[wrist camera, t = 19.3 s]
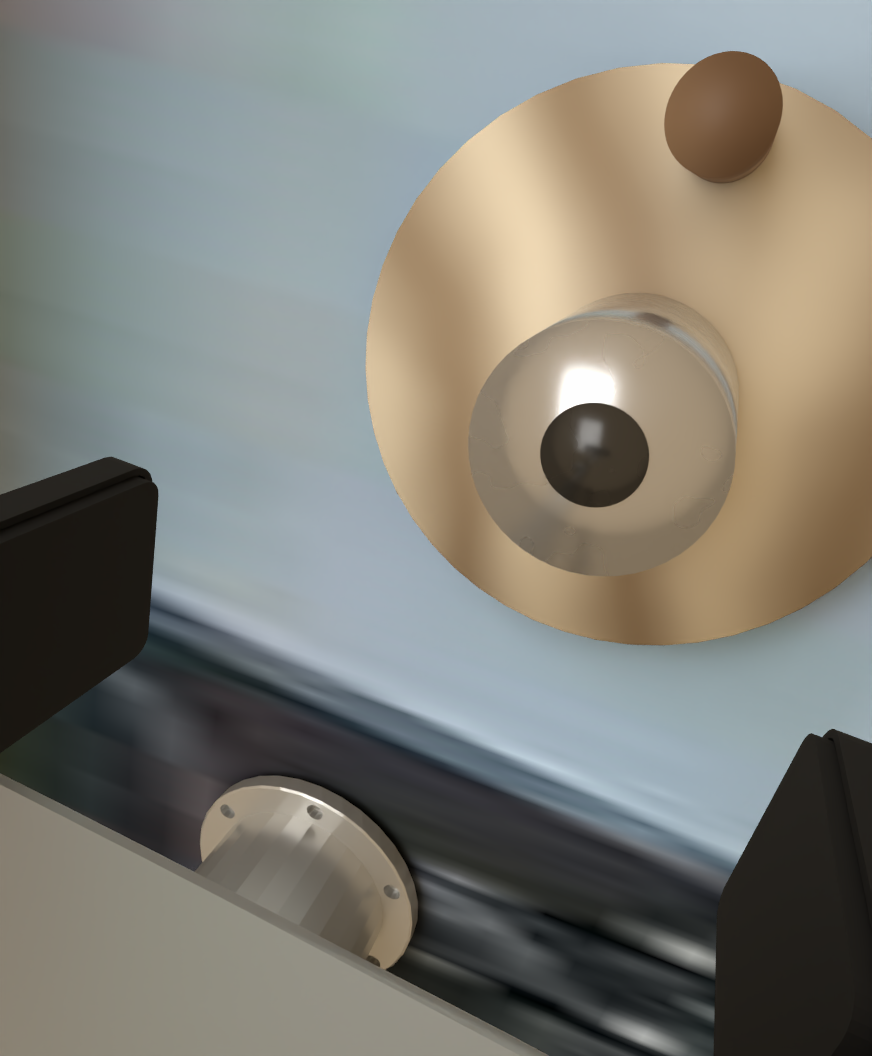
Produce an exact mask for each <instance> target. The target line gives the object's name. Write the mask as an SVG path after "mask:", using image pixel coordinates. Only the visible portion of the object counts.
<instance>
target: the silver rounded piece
mask: <svg viewBox="0 0 872 1056" xmlns="http://www.w3.org/2000/svg"><path fill="white" fill-rule="evenodd" d="M738 406H739V381H738V375H737V370H736V366H735V363H734V360H733V357H732V354H731V352H730V350H729V348H728V346H727V344H726V343H725V341H724V339H723V338H722V336H721V335H720V334H719V332H718V331H717V330H716V328H715V327H714V326H713V325H712V324H711V323H710V322H709V321H708V320H707V319H706V318H705V317H703V316H702V315H701V314H699V313H698V312H697V311H695V310H694V309H692V308H690V307H689V306H687V305H685V304H683V303H681V302H679V301H676V300H674V299H671V298H669V297H665V296H660V295H656V294H649V293H623V294H617V295H611V296H608V297H605V298H602V299H598V300H596V301H594V302H592V303H589V304H587V305H585V306H583V307H582V308H580V309H578V310H577V311H575V312H573V313H571V314H570V315H568V316H566V317H565V318H563V319H561V320H560V321H558V322H556V323H554V324H553V325H551V326H549V327H548V328H546V329H544V330H542V331H541V332H539V333H537V334H536V335H534V336H532V337H531V338H529V339H528V340H526V341H524V342H523V343H521V344H520V345H518V346H517V347H516V348H515V349H514V350H512V351H511V352H510V353H509V354H508V355H506V356H505V358H504V359H503V360H502V361H501V362H500V363H499V364H498V365H497V366H496V367H495V369H494V370H493V371H492V373H491V374H490V376H489V377H488V379H487V380H486V382H485V383H484V385H483V387H482V389H481V391H480V393H479V395H478V398H477V400H476V403H475V406H474V409H473V412H472V417H471V421H470V426H469V437H468V452H469V462H470V468H471V473H472V477H473V480H474V483H475V487H476V490H477V492H478V494H479V496H480V499H481V501H482V503H483V505H484V506H485V508H486V510H487V511H488V513H489V515H490V516H491V518H492V519H493V520H494V522H495V523H496V524H497V525H498V527H499V528H500V529H501V530H502V531H503V532H504V533H505V534H506V535H507V536H508V537H509V538H510V539H511V540H512V541H513V542H514V543H515V544H516V545H518V546H519V547H520V548H522V549H523V550H524V551H525V552H527V553H529V554H530V555H532V556H534V557H535V558H537V559H538V560H541V561H543V562H545V563H547V564H549V565H551V566H553V567H556V568H559V569H562V570H565V571H568V572H573V573H578V574H582V575H590V576H621V575H628V574H634V573H638V572H641V571H645V570H649V569H652V568H654V567H656V566H659V565H661V564H663V563H666V562H668V561H669V560H671V559H673V558H674V557H676V556H678V555H680V554H681V553H682V552H684V551H685V550H686V549H688V548H689V547H690V546H692V545H693V544H694V543H695V542H696V541H697V540H698V539H699V538H700V537H701V536H702V535H703V534H704V533H705V532H706V531H707V529H708V528H709V527H710V525H711V524H712V523H713V521H714V520H715V519H716V517H717V515H718V514H719V512H720V510H721V508H722V506H723V505H724V503H725V500H726V497H727V495H728V492H729V490H730V487H731V483H732V478H733V474H734V469H735V456H736V440H737V423H738Z"/></svg>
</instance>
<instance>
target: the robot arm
mask: <svg viewBox="0 0 872 1056" xmlns="http://www.w3.org/2000/svg"><path fill="white" fill-rule="evenodd" d="M157 507H158V489H157V486H156V485H155V484H154V483H153V482H152V478H151V475H150V473H149V472H148V471H147V470H146V469H143V468H141V467H138V466H135V465H133V464H130V463H127V462H125V461H122V460H119V459H117V458H114V457H107V458H103V459H100V460H97V461H94V462H92V463H89V464H86V465H83V466H80V467H77V468H75V469H72V470H69V471H66V472H63V473H61V474H58V475H55V476H52V477H49V478H46V479H44V480H41V481H38V482H35V483H32V484H30V485H27V486H24V487H21V488H18V489H15V490H13V491H10V492H7V493H4V494H1V495H0V753H1V752H2V751H4V750H5V749H6V748H8V747H9V746H11V745H12V744H13V743H15V742H16V741H18V740H19V739H21V738H22V737H23V736H25V735H26V734H28V733H29V732H30V731H32V730H33V729H35V728H36V727H38V726H39V725H40V724H42V723H43V722H45V721H46V720H47V719H49V718H50V717H52V716H53V715H54V714H56V713H57V712H59V711H60V710H62V709H63V708H64V707H66V706H67V705H69V704H70V703H71V702H73V701H74V700H76V699H77V698H79V697H80V696H81V695H83V694H84V693H86V692H87V691H88V690H90V689H91V688H93V687H94V686H96V685H97V684H98V683H100V682H101V681H103V680H104V679H105V678H107V677H108V676H110V675H111V674H113V673H114V672H115V671H117V670H118V669H120V668H121V667H122V666H124V665H125V664H127V663H128V662H130V661H131V660H132V659H134V658H135V657H136V656H137V655H138V654H139V653H140V652H141V650H142V649H143V647H144V645H145V643H146V640H147V637H148V628H149V615H150V601H151V588H152V574H153V561H154V548H155V534H156V521H157ZM200 848H201V856H202V864H201V865H200V866H199V867H198V868H197V870H196V871H195V872H193V871H191V870H189V869H187V868H185V867H183V866H182V865H180V864H178V863H176V862H174V861H172V860H170V859H168V858H166V857H164V856H162V855H160V854H158V853H156V852H154V851H152V850H150V849H148V848H146V847H144V846H142V845H140V844H138V843H136V842H134V841H132V840H130V839H129V838H127V837H125V836H123V835H121V834H119V833H117V832H115V831H113V830H111V829H109V828H107V827H105V826H103V825H101V824H99V823H97V822H95V821H93V820H91V819H89V818H87V817H85V816H83V815H81V814H79V813H77V812H75V811H73V810H72V809H70V808H68V807H66V806H64V805H62V804H60V803H58V802H56V801H54V800H52V799H50V798H48V797H46V796H44V795H42V794H40V793H38V792H36V791H34V790H32V789H30V788H28V787H26V786H24V785H22V784H20V783H18V782H16V781H14V780H12V779H10V778H8V777H6V776H4V775H2V774H0V1056H549V1055H547V1054H545V1053H543V1052H541V1051H539V1050H537V1049H536V1048H534V1047H532V1046H530V1045H528V1044H526V1043H524V1042H523V1041H521V1040H519V1039H517V1038H515V1037H513V1036H511V1035H509V1034H507V1033H506V1032H504V1031H502V1030H500V1029H498V1028H496V1027H494V1026H492V1025H490V1024H488V1023H486V1022H484V1021H482V1020H480V1019H478V1018H477V1017H475V1016H473V1015H471V1014H469V1013H467V1012H465V1011H463V1010H461V1009H459V1008H457V1007H455V1006H453V1005H451V1004H449V1003H448V1002H446V1001H444V1000H442V999H440V998H438V997H436V996H434V995H432V994H430V993H428V992H426V991H424V990H422V989H420V988H419V987H417V986H415V985H413V984H411V983H409V982H407V981H405V980H403V979H401V978H399V977H397V976H395V975H393V974H392V973H390V972H388V971H386V969H388V968H389V967H391V966H393V965H394V964H395V963H396V962H397V961H398V960H399V958H400V957H401V956H402V955H403V954H404V952H405V950H406V948H407V946H408V944H409V942H410V940H411V938H412V936H413V933H414V930H415V927H416V923H417V920H418V900H417V895H416V890H415V885H414V882H413V880H412V877H411V875H410V872H409V870H408V867H407V865H406V863H405V862H404V860H403V858H402V857H401V855H400V854H399V852H398V850H397V849H396V847H395V845H394V844H393V843H392V842H391V841H390V839H389V838H388V837H387V836H386V835H385V833H384V832H383V831H382V830H381V829H380V827H379V826H378V825H377V824H375V823H374V822H373V821H372V820H371V819H370V818H369V817H368V816H367V815H366V814H364V813H363V812H362V811H361V810H360V809H358V808H357V807H355V806H354V805H352V804H351V803H350V802H348V801H347V800H345V799H344V798H342V797H341V796H339V795H337V794H335V793H333V792H331V791H329V790H327V789H325V788H323V787H321V786H318V785H315V784H312V783H309V782H306V781H303V780H301V779H296V778H290V777H284V776H258V777H253V778H249V779H245V780H242V781H240V782H239V783H237V784H235V785H233V786H231V787H229V788H228V789H227V790H226V791H225V792H224V793H223V794H222V795H221V796H220V797H219V798H218V799H217V800H216V802H215V803H214V804H213V805H212V807H211V808H210V809H209V811H208V812H207V813H206V816H205V819H204V821H203V824H202V827H201V836H200ZM714 1056H872V743H869V742H867V741H864V740H861V739H859V738H856V737H853V736H851V735H848V734H845V733H843V732H840V731H837V730H835V729H831V730H829V731H828V732H827V733H826V734H825V735H824V736H823V738H822V737H820V736H817V735H814V734H812V733H811V734H809V735H808V736H807V737H806V738H805V739H804V741H803V742H802V744H801V746H800V748H799V750H798V751H797V753H796V755H795V757H794V759H793V761H792V763H791V764H790V766H789V768H788V770H787V772H786V774H785V776H784V777H783V779H782V781H781V783H780V785H779V787H778V789H777V790H776V792H775V794H774V796H773V798H772V800H771V802H770V803H769V805H768V807H767V809H766V811H765V813H764V815H763V816H762V818H761V820H760V822H759V824H758V826H757V828H756V829H755V831H754V833H753V835H752V837H751V839H750V841H749V842H748V844H747V846H746V848H745V850H744V852H743V854H742V856H741V857H740V859H739V861H738V863H737V865H736V867H735V869H734V870H733V872H732V874H731V876H730V878H729V880H728V882H727V883H726V885H725V888H724V890H723V892H722V895H721V898H720V902H719V907H718V912H717V938H716V979H715V1021H714Z"/></svg>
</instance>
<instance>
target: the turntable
mask: <svg viewBox="0 0 872 1056" xmlns="http://www.w3.org/2000/svg"><path fill="white" fill-rule="evenodd" d="M623 293H649V294H656V295H660V296H665V297H669V298H671V299H674V300H676V301H679V302H681V303H683V304H685V305H687V306H689V307H690V308H692V309H694V310H695V311H697V312H698V313H699V314H701V315H702V316H703V317H705V318H706V319H707V320H708V321H709V322H710V323H711V324H712V325H713V326H714V327H715V328H716V330H717V331H718V332H719V334H720V335H721V336H722V338H723V339H724V341H725V343H726V344H727V346H728V348H729V350H730V352H731V354H732V357H733V360H734V363H735V366H736V370H737V375H738V381H739V406H738V423H737V440H736V456H735V469H734V474H733V478H732V483H731V487H730V490H729V492H728V495H727V497H726V500H725V503H724V505H723V506H722V508H721V510H720V512H719V514H718V515H717V517H716V519H715V520H714V521H713V523H712V524H711V525H710V527H709V528H708V529H707V531H706V532H705V533H704V534H703V535H702V536H701V537H700V538H699V539H698V540H697V541H696V542H695V543H694V544H693V545H692V546H690V547H689V548H688V549H686V550H685V551H684V552H682V553H681V554H680V555H678V556H676V557H674V558H673V559H671V560H669V561H668V562H666V563H663V564H661V565H659V566H656V567H654V568H652V569H649V570H645V571H641V572H638V573H634V574H628V575H621V576H590V575H582V574H578V573H573V572H568V571H565V570H562V569H559V568H556V567H553V566H551V565H549V564H547V563H545V562H543V561H541V560H538V559H537V558H535V557H534V556H532V555H530V554H529V553H527V552H525V551H524V550H523V549H522V548H520V547H519V546H518V545H516V544H515V543H514V542H513V541H512V540H511V539H510V538H509V537H508V536H507V535H506V534H505V533H504V532H503V531H502V530H501V529H500V528H499V527H498V525H497V524H496V523H495V522H494V520H493V519H492V518H491V516H490V515H489V513H488V511H487V510H486V508H485V506H484V505H483V503H482V501H481V499H480V496H479V494H478V492H477V490H476V487H475V483H474V480H473V477H472V473H471V468H470V462H469V452H468V437H469V426H470V421H471V417H472V412H473V409H474V406H475V403H476V400H477V398H478V395H479V393H480V391H481V389H482V387H483V385H484V383H485V382H486V380H487V379H488V377H489V376H490V374H491V373H492V371H493V370H494V369H495V367H496V366H497V365H498V364H499V363H500V362H501V361H502V360H503V359H504V358H505V356H506V355H508V354H509V353H510V352H511V351H512V350H514V349H515V348H516V347H517V346H518V345H520V344H521V343H523V342H524V341H526V340H528V339H529V338H531V337H532V336H534V335H536V334H537V333H539V332H541V331H542V330H544V329H546V328H548V327H549V326H551V325H553V324H554V323H556V322H558V321H560V320H561V319H563V318H565V317H566V316H568V315H570V314H571V313H573V312H575V311H577V310H578V309H580V308H582V307H583V306H585V305H587V304H589V303H592V302H594V301H596V300H598V299H602V298H605V297H608V296H611V295H617V294H623ZM366 379H367V393H368V403H369V408H370V413H371V418H372V423H373V429H374V433H375V436H376V440H377V443H378V446H379V449H380V452H381V455H382V459H383V462H384V464H385V467H386V469H387V471H388V473H389V475H390V478H391V480H392V482H393V484H394V487H395V489H396V491H397V493H398V495H399V496H400V498H401V500H402V501H403V503H404V505H405V506H406V508H407V510H408V512H409V513H410V515H411V517H412V518H413V520H414V521H415V522H416V524H417V525H418V526H419V528H420V529H421V530H422V532H423V533H424V534H425V536H426V537H427V538H428V540H429V541H430V542H431V544H432V545H433V546H434V547H435V548H436V549H437V550H438V551H439V552H440V553H441V554H442V555H443V556H444V557H445V558H446V559H447V560H448V562H449V563H450V564H451V565H452V566H453V567H454V568H455V569H457V570H458V571H459V572H460V573H461V574H463V575H464V576H465V577H466V578H467V579H469V580H470V581H471V582H472V583H473V584H475V585H476V586H477V587H478V588H480V589H481V590H483V591H484V592H486V593H487V594H489V595H490V596H492V597H493V598H495V599H496V600H498V601H499V602H501V603H502V604H504V605H506V606H507V607H509V608H511V609H513V610H515V611H517V612H519V613H521V614H523V615H525V616H527V617H529V618H531V619H533V620H535V621H538V622H541V623H543V624H546V625H548V626H551V627H554V628H556V629H559V630H562V631H564V632H568V633H572V634H576V635H580V636H584V637H588V638H592V639H595V640H602V641H609V642H616V643H623V644H635V645H673V644H685V643H696V642H703V641H708V640H712V639H717V638H722V637H727V636H732V635H736V634H739V633H742V632H745V631H748V630H751V629H754V628H757V627H760V626H763V625H766V624H769V623H771V622H774V621H776V620H778V619H780V618H782V617H784V616H786V615H789V614H791V613H793V612H795V611H797V610H799V609H802V608H803V607H805V606H807V605H808V604H810V603H811V602H813V601H815V600H816V599H818V598H819V597H821V596H823V595H824V594H826V593H828V592H829V591H831V590H832V589H834V588H835V587H837V586H838V585H839V584H840V583H842V582H843V581H844V580H845V579H847V578H848V577H849V576H850V575H852V574H853V573H854V572H855V571H856V570H858V569H859V568H860V567H861V566H863V565H864V564H865V563H866V562H867V561H868V560H869V559H870V558H871V557H872V138H870V137H869V136H868V135H866V134H865V133H864V132H863V131H861V130H860V129H859V128H857V127H856V126H855V125H854V124H852V123H851V122H850V121H848V120H847V119H846V118H844V117H843V116H842V115H841V114H839V113H838V112H837V111H835V110H833V109H832V108H830V107H828V106H826V105H824V104H822V103H821V102H819V101H817V100H815V99H813V98H811V97H810V96H808V95H806V94H804V93H802V92H800V91H799V90H797V89H795V88H792V87H789V86H786V85H783V84H781V83H779V81H778V79H777V77H776V75H775V73H774V72H773V70H772V69H771V68H770V67H769V66H768V65H767V64H766V63H765V62H764V61H762V60H761V59H760V58H758V57H756V56H754V55H751V54H749V53H745V52H739V51H728V52H722V53H718V54H714V55H712V56H709V57H707V58H705V59H703V60H701V61H700V62H698V63H697V64H671V63H660V64H650V65H641V66H632V67H622V68H616V69H612V70H608V71H604V72H601V73H597V74H593V75H589V76H585V77H581V78H577V79H574V80H572V81H569V82H567V83H564V84H562V85H560V86H557V87H555V88H552V89H550V90H547V91H545V92H542V93H540V94H538V95H536V96H534V97H532V98H530V99H529V100H527V101H525V102H523V103H522V104H520V105H518V106H516V107H515V108H513V109H511V110H510V111H508V112H506V113H504V114H503V115H501V116H499V117H498V118H497V119H496V120H494V121H493V122H492V123H490V124H489V125H488V126H486V127H485V128H484V129H483V130H481V131H480V132H479V133H477V134H476V135H475V136H473V137H472V138H471V139H470V140H468V141H467V142H466V143H465V144H464V145H463V146H462V147H461V148H460V149H459V150H458V151H457V152H456V153H455V154H454V155H453V156H452V157H451V158H450V159H449V160H448V161H447V162H446V163H445V164H444V165H443V166H442V167H441V168H440V169H439V171H438V172H437V173H436V175H435V176H434V177H433V178H432V180H431V181H430V182H429V184H428V185H427V186H426V187H425V189H424V190H423V191H422V193H421V194H420V195H419V197H418V198H417V199H416V201H415V202H414V204H413V206H412V208H411V209H410V211H409V213H408V214H407V216H406V218H405V219H404V221H403V223H402V225H401V226H400V228H399V230H398V231H397V234H396V236H395V238H394V240H393V243H392V245H391V247H390V250H389V252H388V254H387V257H386V259H385V261H384V264H383V266H382V270H381V273H380V277H379V280H378V283H377V287H376V290H375V294H374V297H373V301H372V307H371V313H370V319H369V325H368V331H367V348H366Z"/></svg>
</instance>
